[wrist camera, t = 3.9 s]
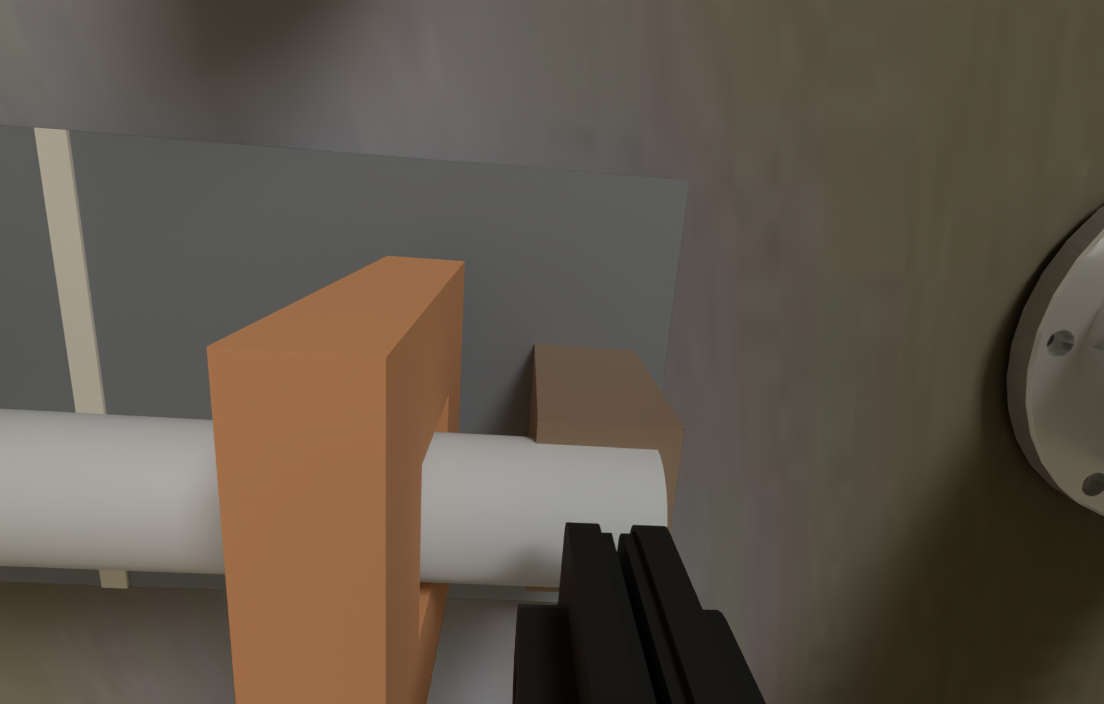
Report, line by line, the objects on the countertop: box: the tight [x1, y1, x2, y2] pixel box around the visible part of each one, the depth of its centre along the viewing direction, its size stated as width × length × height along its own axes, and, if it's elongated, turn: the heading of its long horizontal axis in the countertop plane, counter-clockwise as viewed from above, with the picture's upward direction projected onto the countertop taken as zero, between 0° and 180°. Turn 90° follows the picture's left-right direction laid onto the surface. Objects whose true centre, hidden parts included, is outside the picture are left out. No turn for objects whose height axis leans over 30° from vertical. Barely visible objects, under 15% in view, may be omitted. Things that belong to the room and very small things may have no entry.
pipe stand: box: [0, 125, 689, 602], centre depth 15 cm, size 26×14×9 cm, turn 86°
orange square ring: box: [207, 256, 465, 704], centre depth 12 cm, size 2×9×9 cm, turn 175°
